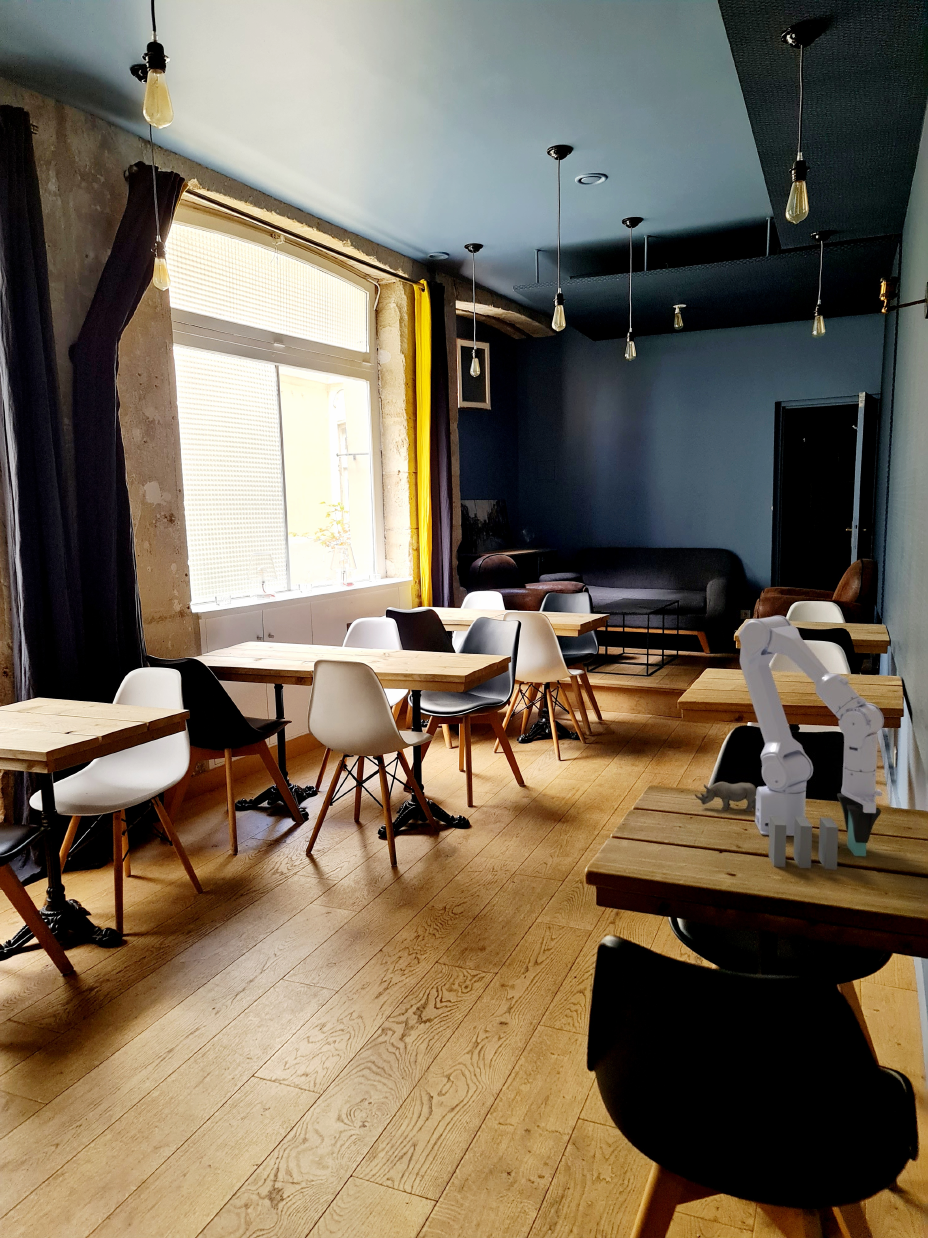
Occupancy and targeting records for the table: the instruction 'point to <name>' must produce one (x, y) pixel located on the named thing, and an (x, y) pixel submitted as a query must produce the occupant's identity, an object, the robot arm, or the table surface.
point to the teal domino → (856, 848)
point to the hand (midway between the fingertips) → (857, 836)
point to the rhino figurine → (730, 794)
